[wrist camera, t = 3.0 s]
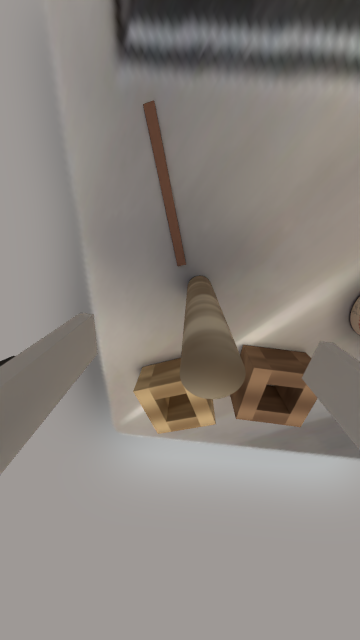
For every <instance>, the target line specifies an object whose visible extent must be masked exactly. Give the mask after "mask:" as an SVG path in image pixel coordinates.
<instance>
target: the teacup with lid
mask: <svg viewBox="0 0 360 640" xmlns="http://www.w3.org/2000/svg"><path fill="white" fill-rule="evenodd" d="M350 320H351V325H352V327H353V329H354V331H355V332H356V333H357V334H359V335H360V297H359V298H358V299H357V301H356V302H355V304H354V306H353V308H352V311H351V317H350Z"/></svg>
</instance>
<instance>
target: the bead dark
mask: <svg viewBox="0 0 360 640" xmlns="http://www.w3.org/2000/svg"><path fill="white" fill-rule="evenodd" d="M240 356H241V359H242V361H243V364H244V366H245V371H246V375H245V380H244V382H243V384H242V385H241V387H240V388H239V389H238V390H237V391H236V392H234V393H233V394H231V395H230V396H231V400H232V404H233V408H234V412H235V417H236V419H242V420H250V421H258V422H266V423H273V424H281V425H289V426H297V427H301V425H302V423H303V422H304V420H305V418H306V417H307V415H308V413H309V412H310V410H311V408H312V407H313V405H314V403H315V402H316V400H317V397H316V395H315V394H314V393H313V392H312V390H311V389H310V388H309V387H308V385H307V384H306V383H305V382H304V380H303V379H302V377H303V375H304V373H305V371H306V369H307V367H308V365H309V363H310V361H311V358H310V357H309V356H308V355H307V354H306V353H304V352H296V351H288V350H280V349H271V348H263V347H255V346H247V345H243V347H242V351H241V354H240ZM267 384H270V385H275V386H269V385H267Z"/></svg>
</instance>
